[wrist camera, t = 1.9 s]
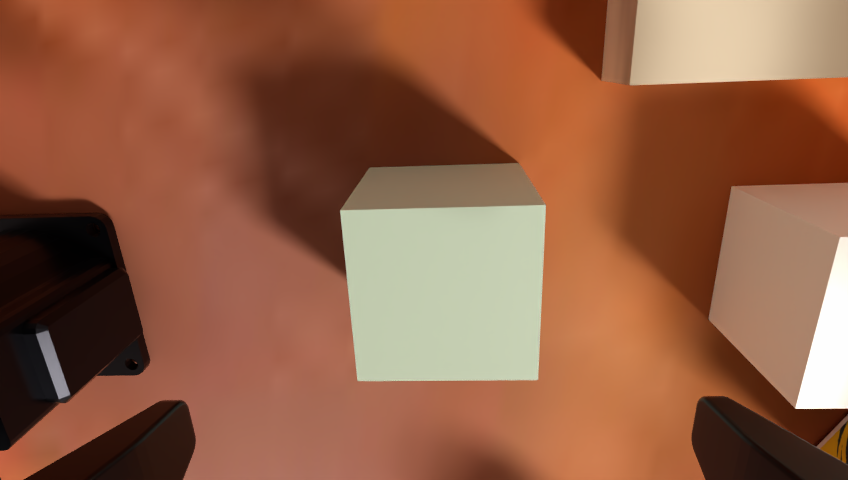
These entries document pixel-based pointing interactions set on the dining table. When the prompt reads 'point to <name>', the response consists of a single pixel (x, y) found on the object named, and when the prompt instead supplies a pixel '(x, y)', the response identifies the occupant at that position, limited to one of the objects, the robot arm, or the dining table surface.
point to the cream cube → (788, 288)
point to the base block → (724, 40)
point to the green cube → (445, 272)
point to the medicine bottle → (837, 441)
